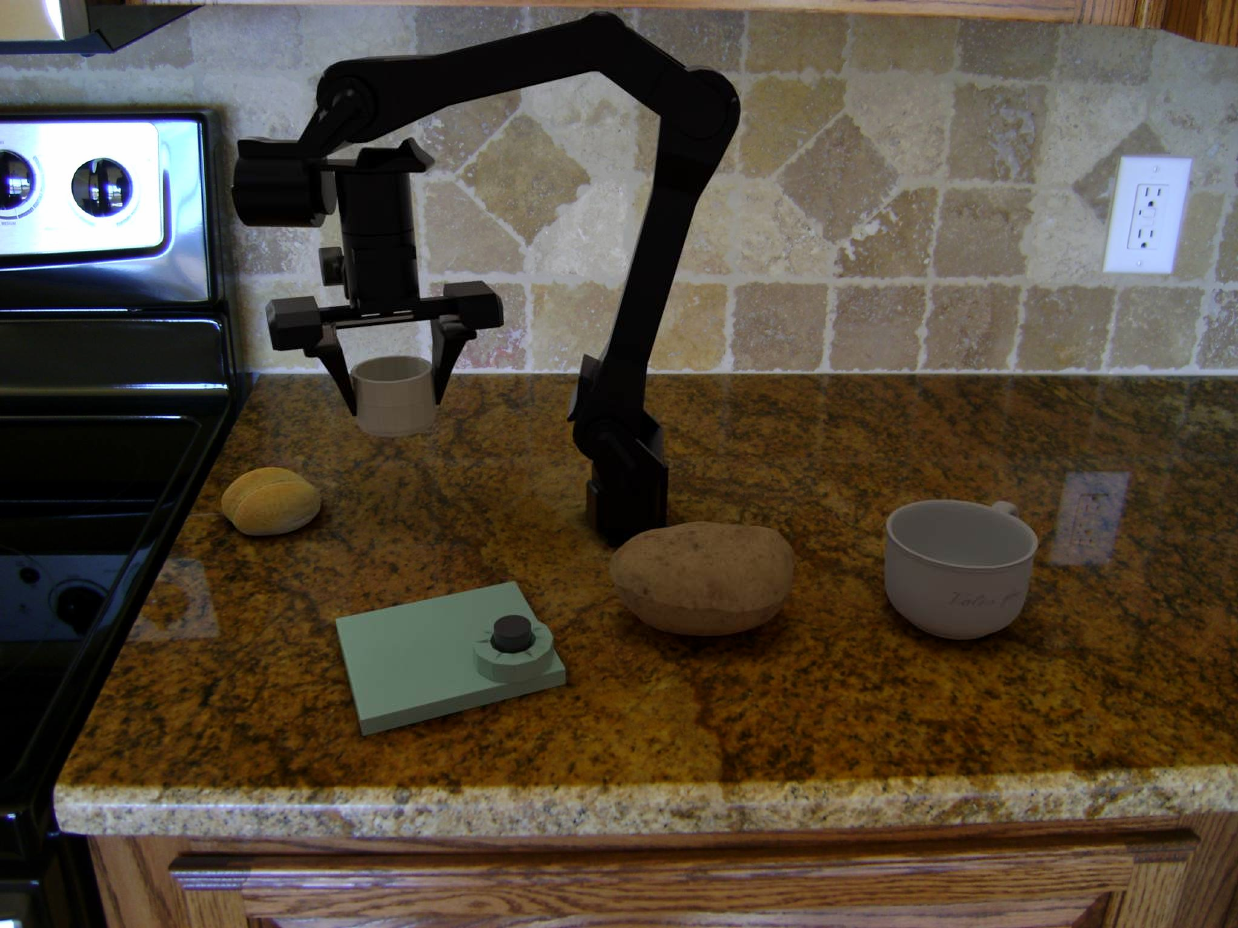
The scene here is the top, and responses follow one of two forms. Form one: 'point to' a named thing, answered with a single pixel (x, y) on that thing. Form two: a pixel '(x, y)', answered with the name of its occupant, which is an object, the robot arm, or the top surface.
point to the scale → (441, 657)
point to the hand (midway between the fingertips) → (396, 409)
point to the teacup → (958, 566)
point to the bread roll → (270, 502)
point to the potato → (704, 577)
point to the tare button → (512, 634)
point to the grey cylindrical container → (394, 395)
